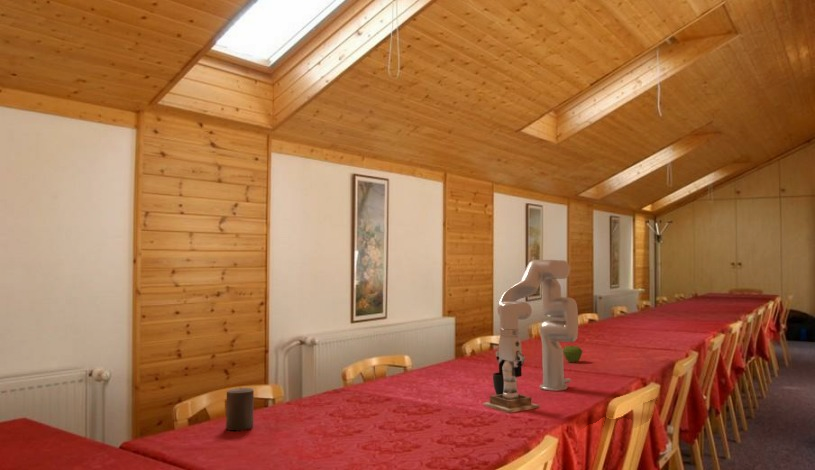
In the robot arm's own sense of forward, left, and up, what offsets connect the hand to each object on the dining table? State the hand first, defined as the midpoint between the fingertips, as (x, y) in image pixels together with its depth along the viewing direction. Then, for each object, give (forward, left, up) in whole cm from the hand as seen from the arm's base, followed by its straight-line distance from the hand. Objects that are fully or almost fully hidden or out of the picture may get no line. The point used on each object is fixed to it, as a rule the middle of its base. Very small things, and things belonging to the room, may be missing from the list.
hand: (510, 374), depth 256 cm
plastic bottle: (0, 0, -12) cm, 12 cm away
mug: (-11, -16, -13) cm, 23 cm away
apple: (-102, -63, -13) cm, 121 cm away
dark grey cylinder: (+103, -31, -13) cm, 108 cm away
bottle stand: (0, 0, -13) cm, 13 cm away
